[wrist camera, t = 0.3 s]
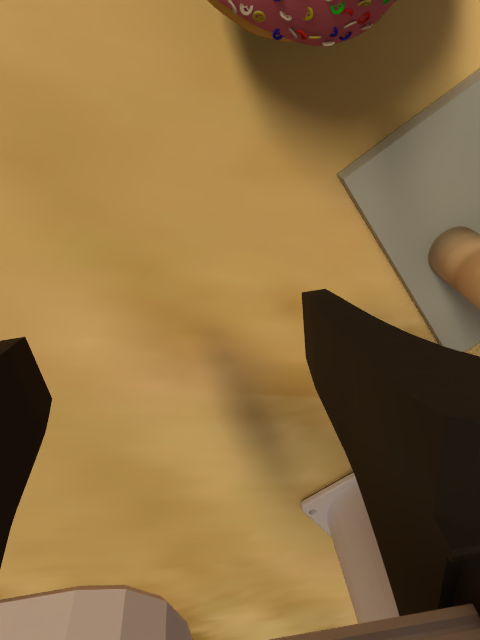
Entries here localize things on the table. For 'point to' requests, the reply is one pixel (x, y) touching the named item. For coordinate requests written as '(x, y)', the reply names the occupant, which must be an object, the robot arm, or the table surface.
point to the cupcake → (305, 18)
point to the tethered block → (458, 261)
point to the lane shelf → (426, 203)
